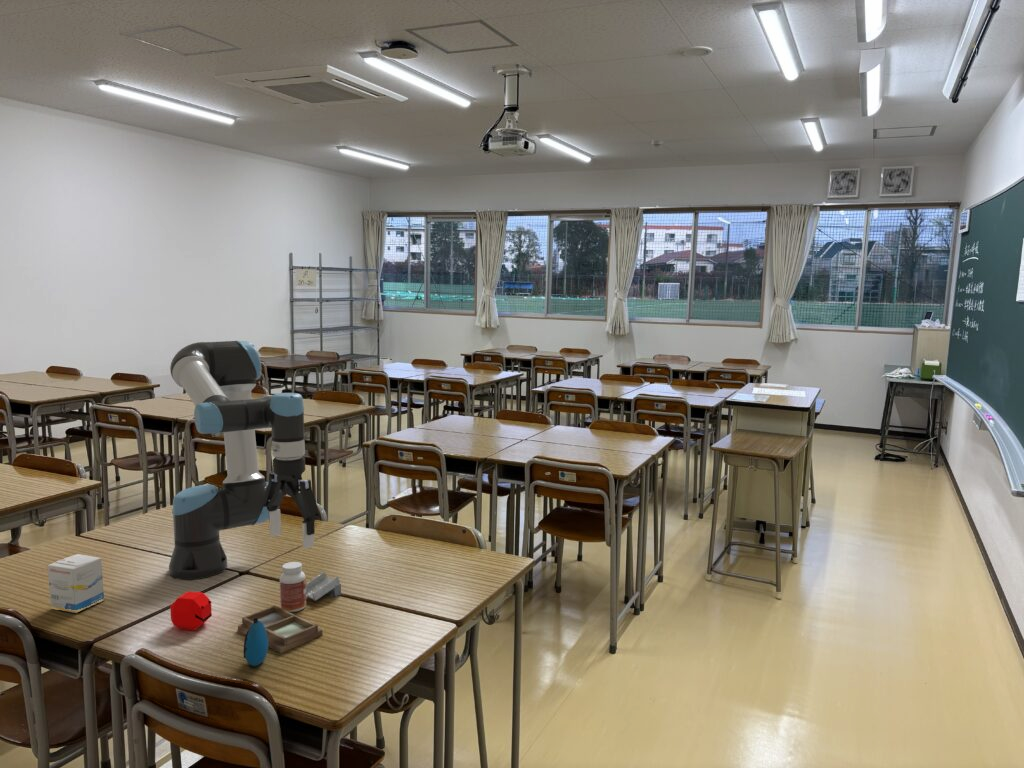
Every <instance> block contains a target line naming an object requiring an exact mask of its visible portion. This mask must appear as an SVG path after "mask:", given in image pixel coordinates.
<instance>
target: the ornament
mask: <svg viewBox="0 0 1024 768" xmlns="http://www.w3.org/2000/svg"><path fill="white" fill-rule="evenodd" d="M268 651H269V647H268V637H267V633H266V630H265V627H264V625H263V624H262V622H261V621H258V619H257V618H254V623H253V624H252V625H251V626H250V628H249V630H248V631H247V634H246V635H245V637H244V643H243V658H245V659H246V662H247V664H248V665H250V666H252V667H256V666H259V665H260V664H261V663H263V662H264V661H265V659H266V657H267V654H268Z"/></svg>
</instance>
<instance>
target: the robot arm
mask: <svg viewBox="0 0 1024 768" xmlns="http://www.w3.org/2000/svg"><path fill="white" fill-rule="evenodd" d="M169 366H170V367H169V369H170V371H169V372H170V376H171V377H172V379H173V381H174V382H175V384H177V386H179V387H180V388H182V389H184V391H185V393H187V395H188V397H189V399H190V400H191V401H192V403H193V405H194V406H195V408H194V410H193V411H194V412H193V417H194V419H193V420H194V425H195V428H196V431H197V432H198V433H199V434H203V435H207V434H209V435H211V434H212V435H216V434H221V433H222V434H223V439H224V450H225V451H224V452H225V460H226V461H225V462H226V472H227V476H226V478H225V479H224V480H223V481H222V488H220V489H219V488H218V487H217V485H214V484H205V485H204V484H202V485H201V484H200V485H195V486H191V487H188V488H186V489H183V490H180V491H179V492H177V493H176V494H175V496H174V497H173V499H172V511H171V513H172V515H173V516H172V521H173V536H174V537H173V539H174V540H173V541H174V548H173V550H172V553H171V554H172V555H171V557H170V561H169V564H168V573H169V576H170V575H171V576H172V578H173V577H174V579H177V578H178V579H179V580H197V579H198V580H199V579H203V578H209V577H213V576H215V575H218V574H220V573H222V572H224V571H225V570H226V569H227V568H228V557H227V556H226V553H225V550H224V548H223V546H222V543H221V541H220V531H225V530H230V529H235V528H236V529H237V528H242V527H245V526H255V525H257V524H261V523H265V522H267V521H269V537H270V538H274V537H278V536H280V535H282V522H281V519H282V517H281V509H280V508H281V506H280V505H281V503H282V502H283V500H284V498H285V496H286V495H288V496H290V498H291V499H293V500H294V502H295V504H296V506H297V507H298V510H299V512H300V514H301V516H302V518H303V521H302V522H301V523H302V525H301V528H302V530H301V531H302V548H303V549H304V550H305V549H309V548H312V547H314V546H315V533H316V532H315V531H316V530H315V521H318V520H320V519H321V514H320V509H319V507H318V504H317V501H316V498H315V497H316V496H315V495H314V491H313V489H312V481H311V479H310V478H308V479H303V477H302V474H303V473H304V472H306V458H305V454H306V443H305V419H304V417H305V414H304V411H305V407H304V400H303V399H304V397H303V396H302V394H300V393H298V392H297V393H296V392H280V393H274V394H273V395H266V396H263V397H260V398H253V397H252V390H254V389H255V387H256V386H257V382H256V381H257V380H260V379H261V377H262V362H261V357H260V354H259V351H258V350H257V348H256V346H255V345H254V343H252V342H250V341H246V340H244V341H243V340H226V341H225V340H224V341H200V342H199V341H198V342H193V343H190V344H188V345H186V346H184V347H182V348H181V349H179V350H178V351H177V352H176V354H174V357H173V358H172V359H171V362H170V365H169ZM260 429H271V441H272V442H271V443H272V447H271V448H272V457H274V458H273V459H272V471H273V472H270V473H268V474H269V475H268V481H266V478H265V476H264V475H263V474H262V473H261V472H260V470H259V460H258V451H257V441H256V439H257V438H256V430H260ZM171 576H170V577H171Z"/></svg>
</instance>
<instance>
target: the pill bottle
mask: <svg viewBox="0 0 1024 768" xmlns="http://www.w3.org/2000/svg"><path fill="white" fill-rule="evenodd" d="M281 570H282V573H281V575H280V576H279V595H280V596H279V597H280V599H279V601H280V608H281V609H284V610H286V611H288V612H290V613H295V612H300V611H301V610H303V609H305V608H306V606H307V597H306V583H307V581H306V574H305V572H304V571H303V564H302V562H299V561H289V562H286V563H284V564H283V565H282V569H281Z"/></svg>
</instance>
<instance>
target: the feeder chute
mask: <svg viewBox="0 0 1024 768" xmlns="http://www.w3.org/2000/svg"><path fill="white" fill-rule="evenodd" d="M324 595H329V596H332V597H333V598H336V597H339V596H341V595H342V584H341V583H340V578H339V576H335V577H333V578H332V577H329V576H327V573H326V571H322V572H321V573H319V574H317V575H316V576H315V577H313V578H312V579H310V580H309V581H306V598H308V599H311V600H313V601H317V600H319V599H320V598H322V597H324Z"/></svg>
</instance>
